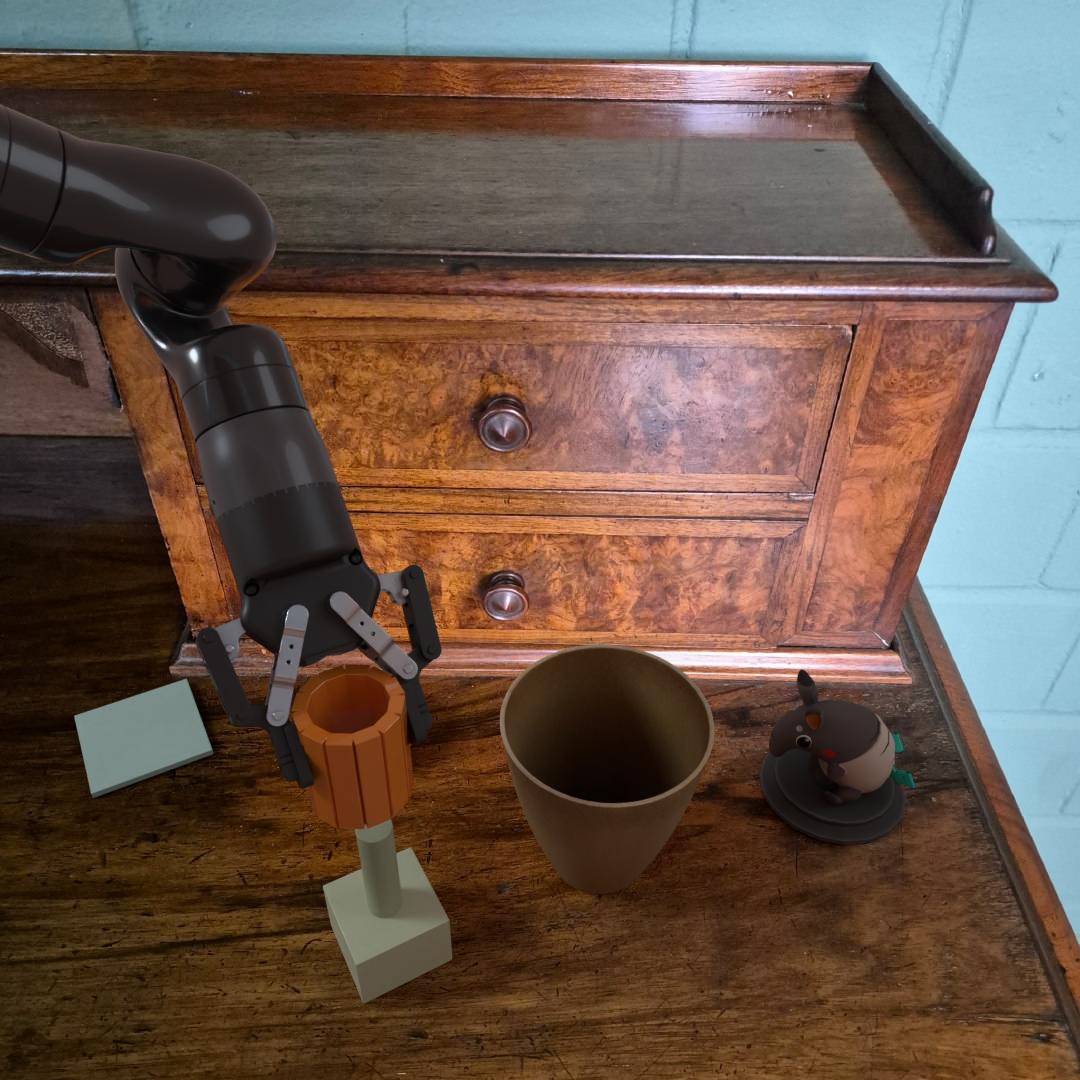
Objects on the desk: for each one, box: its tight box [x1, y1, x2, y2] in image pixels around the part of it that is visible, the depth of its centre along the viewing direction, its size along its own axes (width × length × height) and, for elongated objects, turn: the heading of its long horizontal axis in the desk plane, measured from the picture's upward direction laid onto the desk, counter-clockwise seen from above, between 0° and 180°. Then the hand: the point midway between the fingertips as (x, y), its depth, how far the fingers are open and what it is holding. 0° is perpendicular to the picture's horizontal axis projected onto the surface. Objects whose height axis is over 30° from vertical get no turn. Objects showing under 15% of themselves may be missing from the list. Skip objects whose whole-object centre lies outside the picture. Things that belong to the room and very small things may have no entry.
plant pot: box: [499, 643, 715, 895], centre depth 71 cm, size 15×15×16 cm
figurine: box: [758, 669, 916, 845], centre depth 77 cm, size 11×12×12 cm
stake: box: [322, 818, 453, 1005], centre depth 65 cm, size 7×7×14 cm
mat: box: [73, 678, 214, 799], centre depth 85 cm, size 10×10×1 cm
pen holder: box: [290, 663, 414, 830], centre depth 57 cm, size 6×6×8 cm
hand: (364, 763), depth 56 cm, fingers closed on pen holder, 6 cm apart
